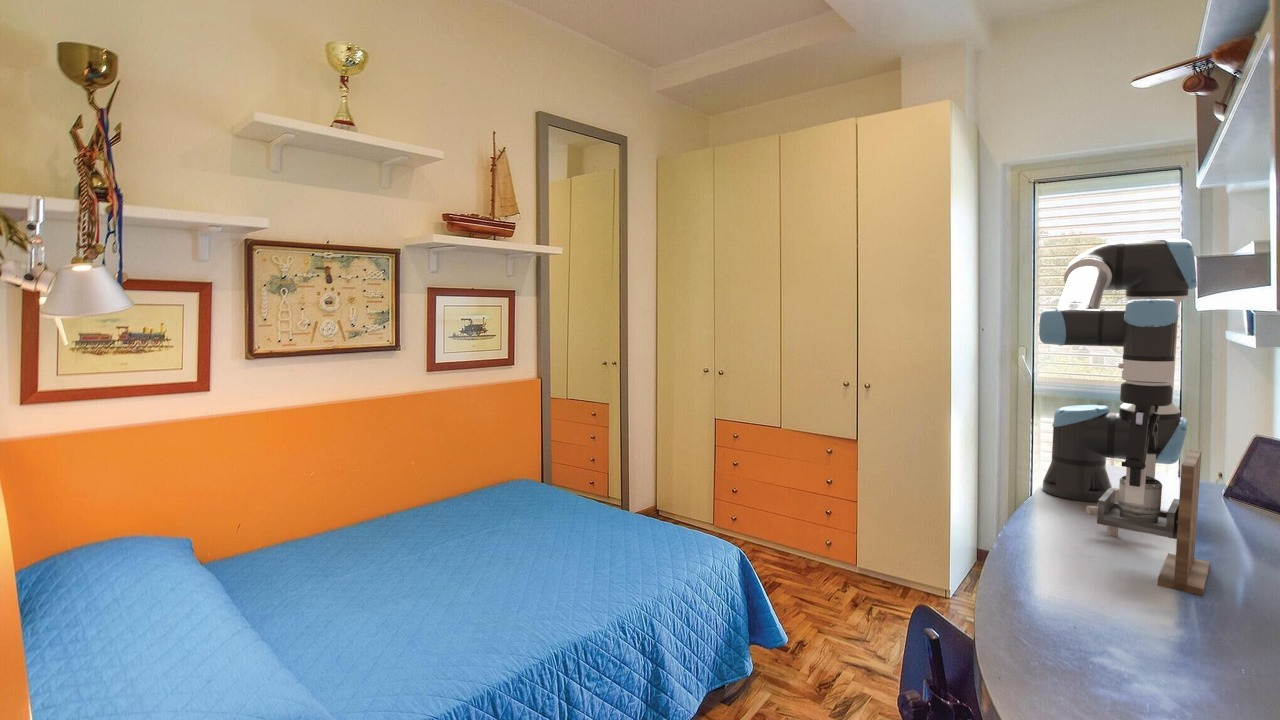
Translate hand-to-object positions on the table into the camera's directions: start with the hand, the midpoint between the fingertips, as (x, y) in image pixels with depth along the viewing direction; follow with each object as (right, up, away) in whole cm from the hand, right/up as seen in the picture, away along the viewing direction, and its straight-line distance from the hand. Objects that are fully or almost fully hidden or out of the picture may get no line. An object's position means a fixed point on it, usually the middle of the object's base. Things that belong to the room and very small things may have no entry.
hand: (1139, 494), depth 118 cm
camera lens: (0, -5, 0) cm, 5 cm away
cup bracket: (+1, -14, -1) cm, 14 cm away
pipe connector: (+8, -13, +17) cm, 22 cm away
